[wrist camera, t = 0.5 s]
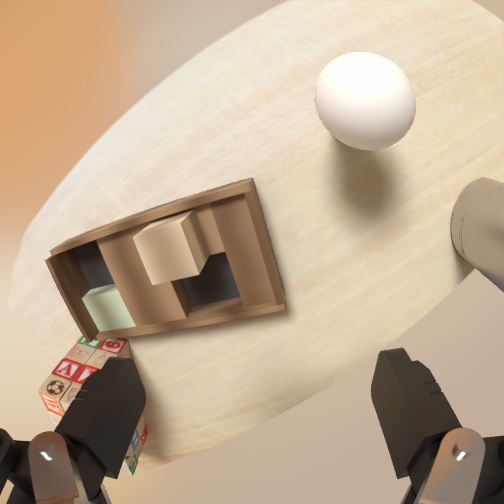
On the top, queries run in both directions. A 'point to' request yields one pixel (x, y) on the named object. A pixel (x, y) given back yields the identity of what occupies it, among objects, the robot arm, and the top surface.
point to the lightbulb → (365, 101)
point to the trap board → (177, 291)
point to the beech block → (172, 248)
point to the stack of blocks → (72, 378)
